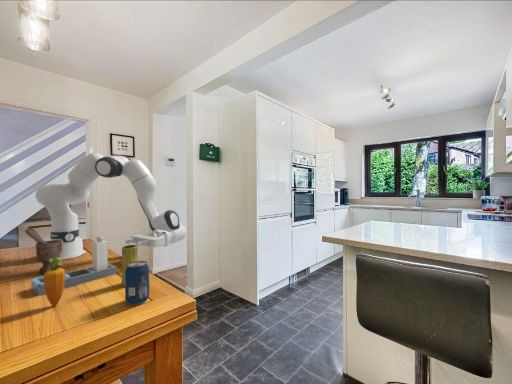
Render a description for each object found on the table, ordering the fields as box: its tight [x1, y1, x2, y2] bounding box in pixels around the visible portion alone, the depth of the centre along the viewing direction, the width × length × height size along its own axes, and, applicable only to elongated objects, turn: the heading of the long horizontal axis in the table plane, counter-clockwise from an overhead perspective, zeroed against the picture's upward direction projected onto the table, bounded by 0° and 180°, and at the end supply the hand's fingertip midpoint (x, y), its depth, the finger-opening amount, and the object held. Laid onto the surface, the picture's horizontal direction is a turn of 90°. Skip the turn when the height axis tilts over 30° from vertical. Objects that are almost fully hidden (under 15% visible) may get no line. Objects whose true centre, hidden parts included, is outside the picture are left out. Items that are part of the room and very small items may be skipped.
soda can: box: [124, 260, 150, 306], centre depth 75 cm, size 7×7×12 cm
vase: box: [120, 244, 139, 288], centre depth 89 cm, size 6×6×14 cm
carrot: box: [43, 258, 66, 307], centre depth 72 cm, size 5×5×15 cm
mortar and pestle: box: [24, 227, 62, 275], centre depth 102 cm, size 12×9×20 cm
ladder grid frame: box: [30, 263, 118, 297], centre depth 92 cm, size 9×25×4 cm, turn 146°
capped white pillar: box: [92, 236, 109, 272], centre depth 98 cm, size 4×4×16 cm
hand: (131, 243), depth 109 cm, fingers open, 8 cm apart
